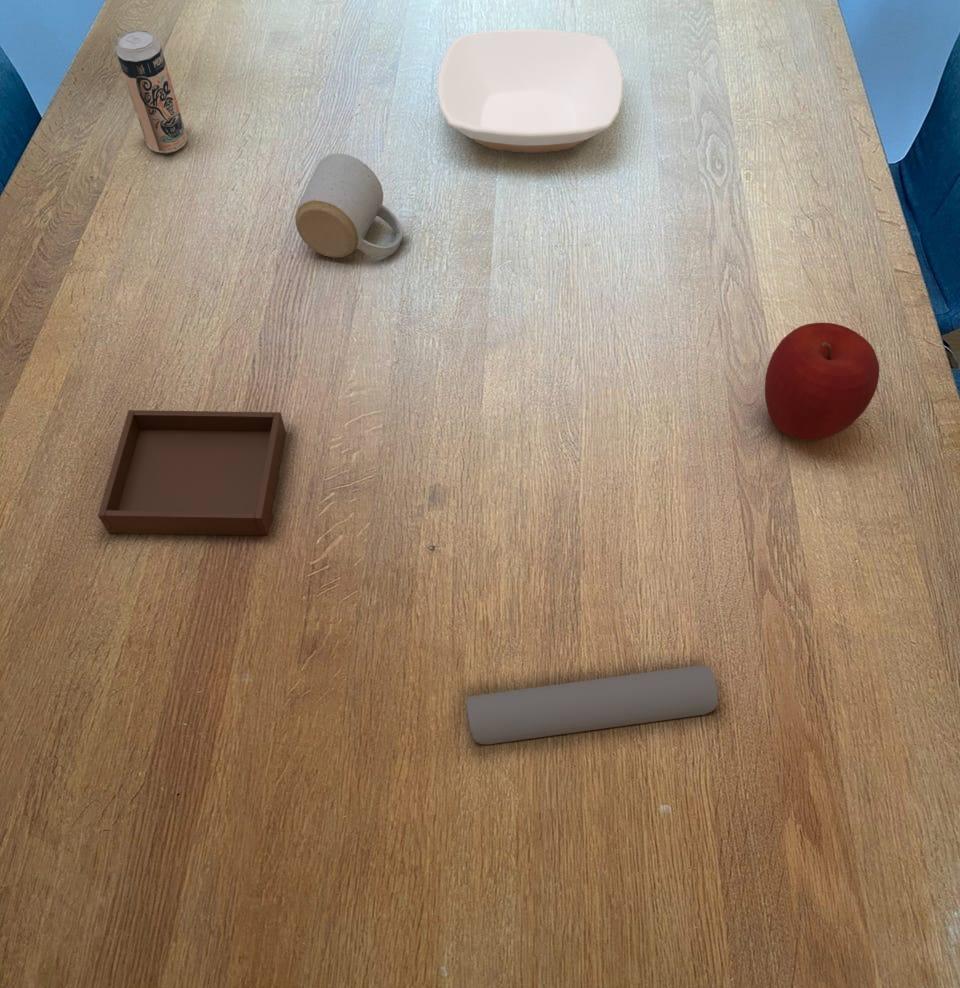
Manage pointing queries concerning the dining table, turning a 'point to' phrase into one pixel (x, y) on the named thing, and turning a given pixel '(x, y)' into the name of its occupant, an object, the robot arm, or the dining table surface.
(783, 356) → the apple
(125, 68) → the beer can
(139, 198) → the dining table surface
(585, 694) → the half round rod
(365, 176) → the ceramic mug
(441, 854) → the dining table surface
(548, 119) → the bowl
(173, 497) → the serving tray
